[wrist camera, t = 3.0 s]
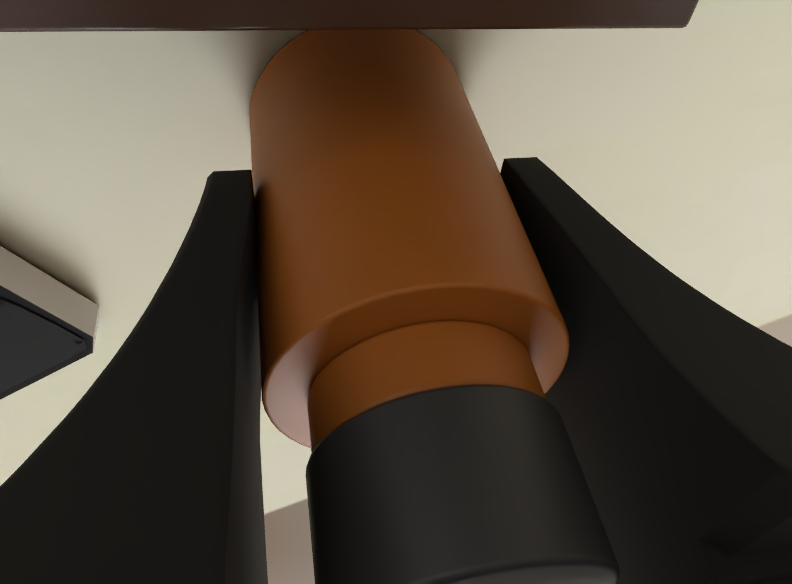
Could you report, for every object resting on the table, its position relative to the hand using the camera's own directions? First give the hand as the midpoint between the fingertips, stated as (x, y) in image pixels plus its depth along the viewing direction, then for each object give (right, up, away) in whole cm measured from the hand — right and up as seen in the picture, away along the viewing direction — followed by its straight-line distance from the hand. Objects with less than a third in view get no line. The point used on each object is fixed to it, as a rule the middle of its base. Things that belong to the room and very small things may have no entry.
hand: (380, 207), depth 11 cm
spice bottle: (-1, +2, +2) cm, 3 cm away
